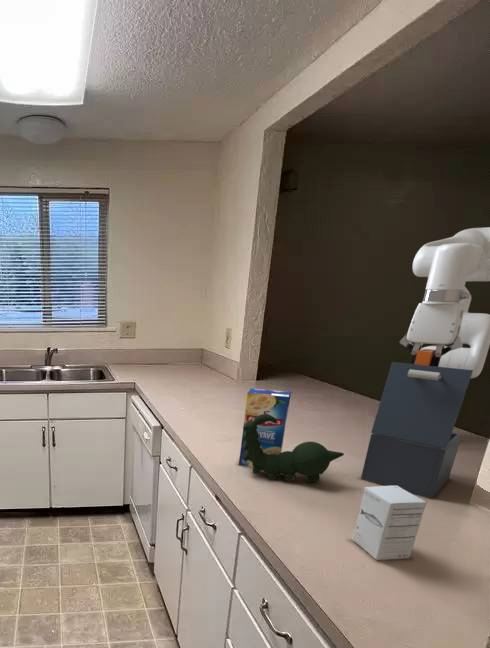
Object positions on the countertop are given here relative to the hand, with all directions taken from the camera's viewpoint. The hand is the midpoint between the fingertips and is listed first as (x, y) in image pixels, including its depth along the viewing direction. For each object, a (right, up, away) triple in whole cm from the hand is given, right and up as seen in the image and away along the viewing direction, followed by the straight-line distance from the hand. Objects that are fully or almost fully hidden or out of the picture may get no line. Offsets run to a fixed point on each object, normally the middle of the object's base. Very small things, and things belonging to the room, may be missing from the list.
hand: (422, 370), depth 115 cm
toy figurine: (-34, -29, +6) cm, 45 cm away
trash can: (-1, -29, +5) cm, 30 cm away
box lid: (-6, -10, -6) cm, 13 cm away
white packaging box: (-30, -41, -27) cm, 57 cm away
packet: (0, -1, 0) cm, 1 cm away
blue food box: (-37, -26, +16) cm, 48 cm away
